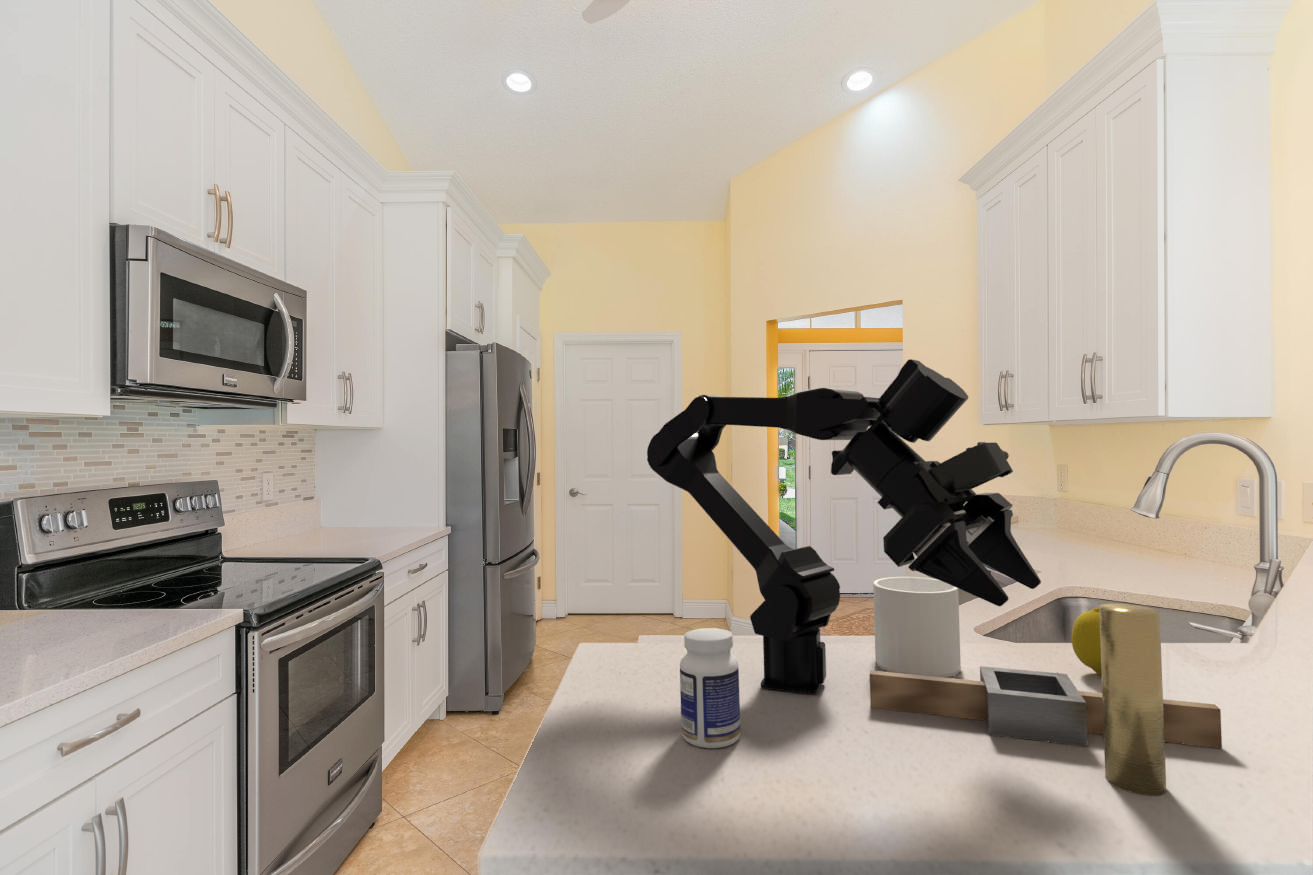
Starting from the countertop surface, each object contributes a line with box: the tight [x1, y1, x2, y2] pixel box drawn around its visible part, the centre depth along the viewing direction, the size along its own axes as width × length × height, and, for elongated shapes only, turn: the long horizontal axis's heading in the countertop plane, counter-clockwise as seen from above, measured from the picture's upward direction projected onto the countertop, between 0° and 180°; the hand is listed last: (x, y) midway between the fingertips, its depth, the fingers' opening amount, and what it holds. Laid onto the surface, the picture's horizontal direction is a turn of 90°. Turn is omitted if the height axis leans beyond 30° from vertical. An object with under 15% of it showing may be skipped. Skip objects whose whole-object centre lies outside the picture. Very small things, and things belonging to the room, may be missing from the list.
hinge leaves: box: [869, 670, 1223, 749], centre depth 64 cm, size 30×1×4 cm, turn 68°
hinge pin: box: [1098, 603, 1167, 797], centre depth 53 cm, size 4×4×14 cm
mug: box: [872, 576, 962, 678], centre depth 83 cm, size 13×10×10 cm
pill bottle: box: [679, 627, 741, 749], centre depth 63 cm, size 6×6×10 cm
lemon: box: [1071, 607, 1102, 676], centre depth 77 cm, size 6×6×8 cm
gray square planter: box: [979, 665, 1089, 748], centre depth 64 cm, size 8×8×4 cm
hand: (1021, 593), depth 59 cm, fingers open, 9 cm apart
